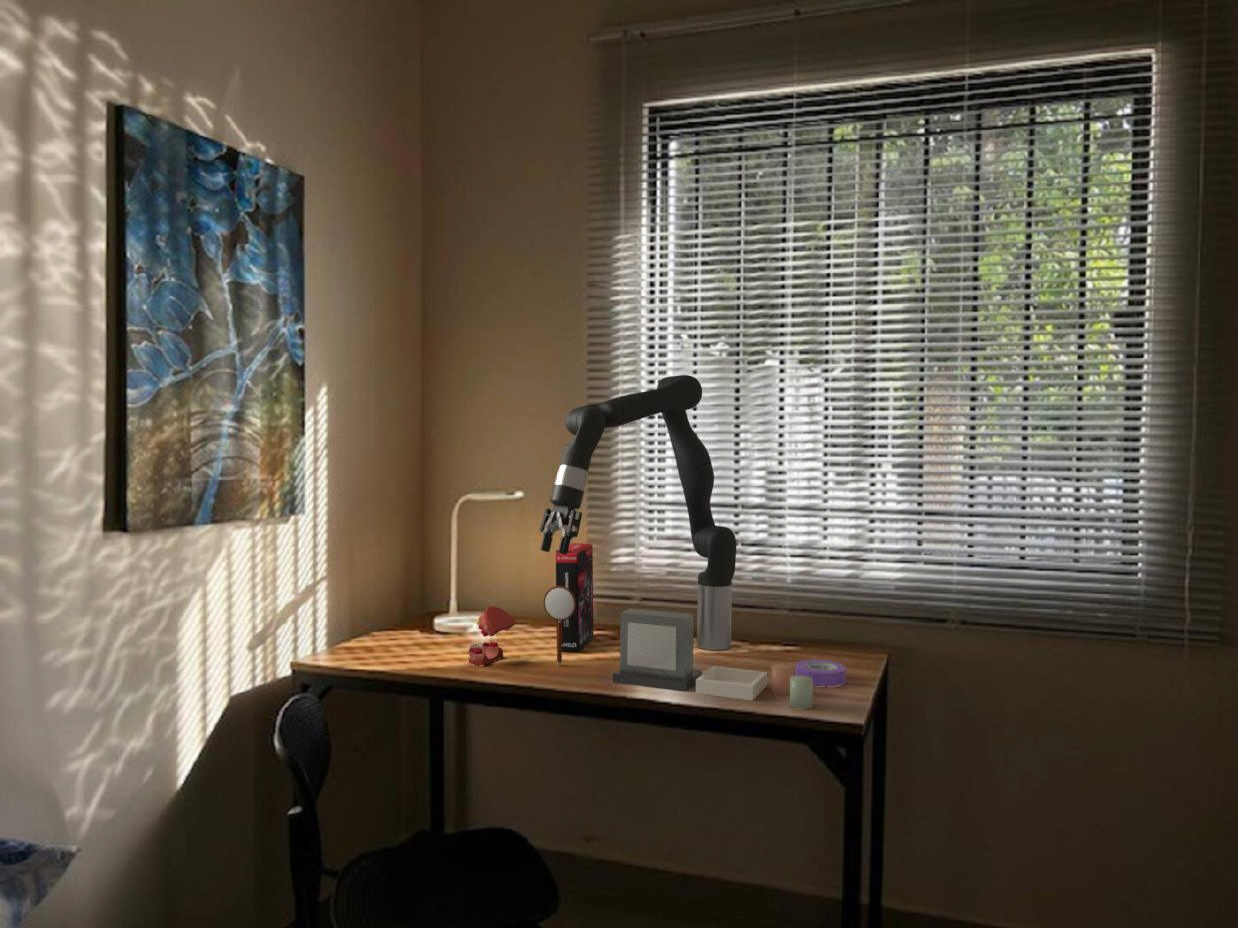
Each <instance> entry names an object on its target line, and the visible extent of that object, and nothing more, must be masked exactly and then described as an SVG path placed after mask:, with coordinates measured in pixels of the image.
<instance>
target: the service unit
mask: <svg viewBox="0 0 1238 928" xmlns="http://www.w3.org/2000/svg"><path fill="white" fill-rule="evenodd" d="M694 620H695V615H694V613H687V612H686V613H684V612H674V611H673V612H672V611H665V610H653V609H642V608H641V609H640V608H631V607H630V608H628V609H626V610H624V611H622V612H620V629H619V630H620V632H619V633H620V636H619V637H620V639H619V640H620V641H619V642H620V644H619V645H620V646H619V648H620V649H619V651H620V652H619V669H618V670H616V671H614V672H613V673H612V683H615V684H616V683H617V684H624V685H634V686H640V687H641V686H642V687H648V688H656V689H665V690H672V691H680V692H687V691H688V690H689V689H690V688H692V687H694V686H696V679H697V678H699V677H700V676H701V675H702V674H703V670H702V669H696V668H694V636H695V634H694V632H695V631H694V630H695V629H694V626H695V625H694V624H695V623H694V622H695V621H694Z"/></svg>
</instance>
